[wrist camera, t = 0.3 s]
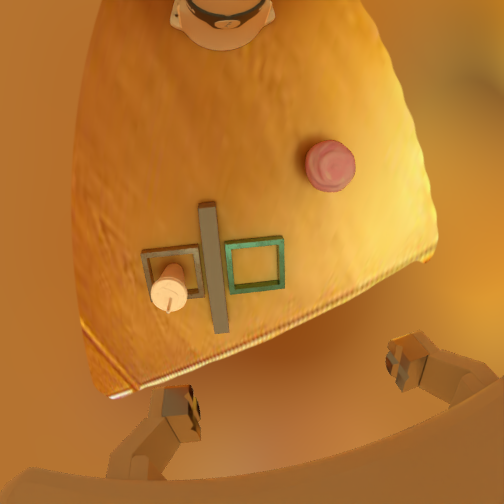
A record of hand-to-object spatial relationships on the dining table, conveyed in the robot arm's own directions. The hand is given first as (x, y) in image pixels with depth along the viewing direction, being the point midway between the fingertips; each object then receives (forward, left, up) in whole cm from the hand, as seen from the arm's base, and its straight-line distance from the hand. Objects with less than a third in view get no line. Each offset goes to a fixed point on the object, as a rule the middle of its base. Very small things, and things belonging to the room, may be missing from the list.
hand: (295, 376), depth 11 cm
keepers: (+16, -4, -47) cm, 50 cm away
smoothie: (+16, -12, -47) cm, 51 cm away
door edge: (+16, -4, -47) cm, 50 cm away
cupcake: (-3, +17, -47) cm, 50 cm away
